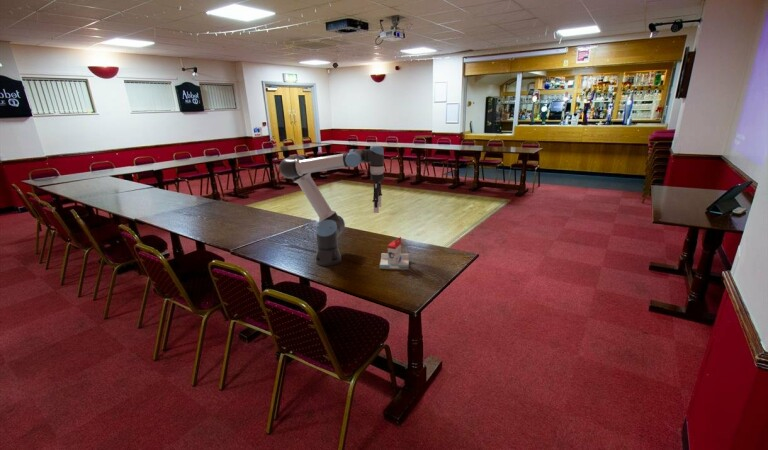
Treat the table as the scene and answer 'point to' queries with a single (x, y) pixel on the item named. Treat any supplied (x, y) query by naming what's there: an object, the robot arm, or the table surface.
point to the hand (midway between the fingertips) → (377, 209)
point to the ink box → (394, 252)
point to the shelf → (401, 265)
